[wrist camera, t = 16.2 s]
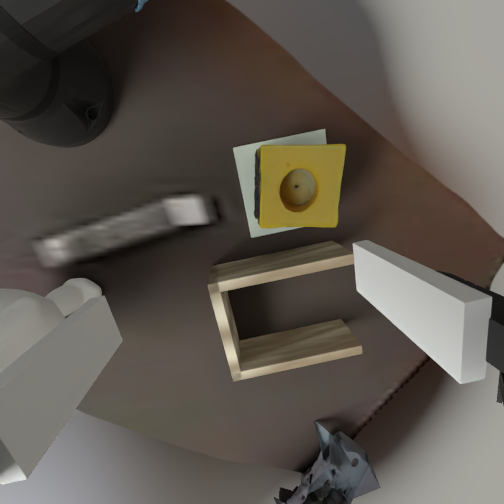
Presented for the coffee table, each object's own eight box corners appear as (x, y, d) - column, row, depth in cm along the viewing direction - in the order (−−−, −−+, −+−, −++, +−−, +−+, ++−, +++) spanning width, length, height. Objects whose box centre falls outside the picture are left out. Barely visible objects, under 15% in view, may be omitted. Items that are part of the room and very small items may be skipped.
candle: (320, 150, 38) (349, 141, 29) (315, 217, 41) (340, 228, 32) (253, 149, 38) (260, 140, 28) (253, 217, 40) (259, 229, 31)
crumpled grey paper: (373, 451, 58) (398, 499, 49) (310, 499, 61) (323, 552, 53) (322, 412, 54) (339, 457, 45) (257, 466, 57) (262, 518, 48)
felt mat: (232, 148, 38) (232, 147, 37) (323, 129, 38) (325, 128, 37) (251, 237, 42) (251, 237, 41) (333, 219, 42) (334, 220, 41)
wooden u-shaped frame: (211, 265, 43) (207, 284, 35) (332, 240, 43) (353, 253, 35) (233, 348, 48) (233, 381, 40) (341, 325, 48) (362, 353, 40)
